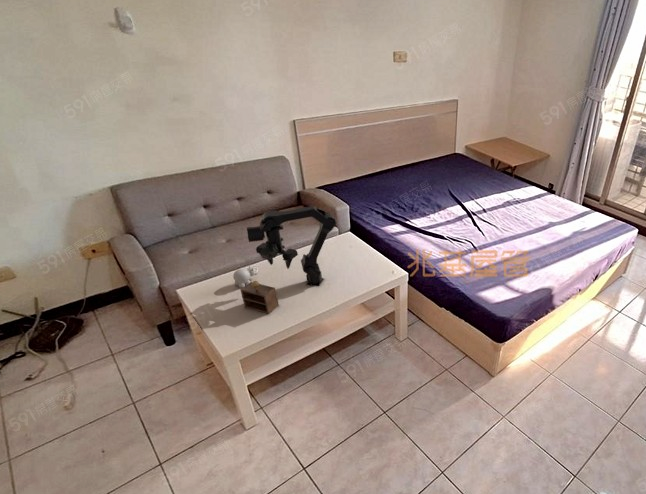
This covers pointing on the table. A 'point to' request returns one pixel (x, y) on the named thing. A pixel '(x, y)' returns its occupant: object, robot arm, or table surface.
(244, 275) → the toy rhinoceros
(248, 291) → the shelf
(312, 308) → the table surface
